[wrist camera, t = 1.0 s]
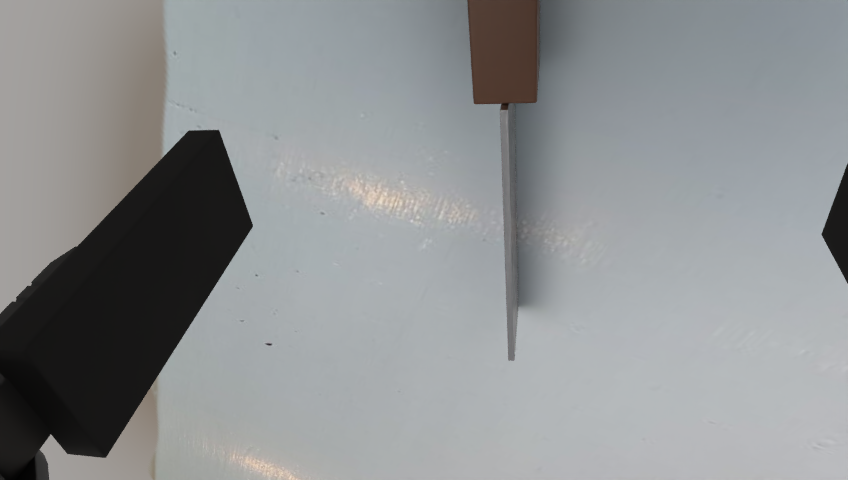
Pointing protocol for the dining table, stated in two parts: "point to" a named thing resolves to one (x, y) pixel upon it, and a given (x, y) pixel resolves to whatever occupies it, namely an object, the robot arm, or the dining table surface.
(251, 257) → the dining table surface
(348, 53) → the dining table surface
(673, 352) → the dining table surface
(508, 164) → the knife
